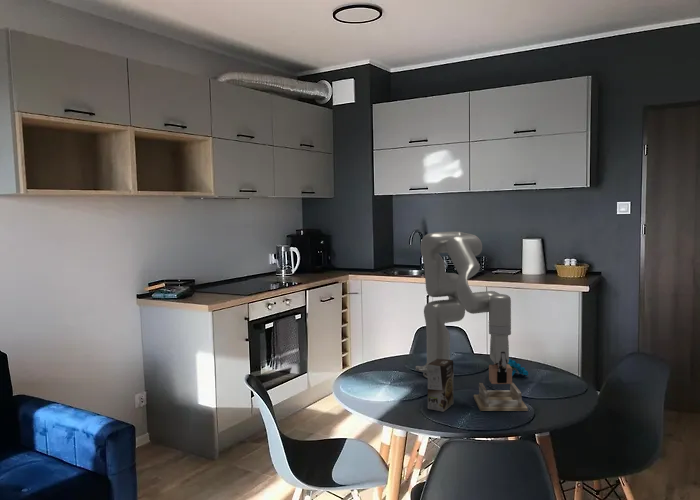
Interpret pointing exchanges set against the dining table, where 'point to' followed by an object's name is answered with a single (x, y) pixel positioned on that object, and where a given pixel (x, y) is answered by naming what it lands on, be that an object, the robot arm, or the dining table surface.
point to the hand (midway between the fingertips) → (500, 379)
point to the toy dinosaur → (517, 368)
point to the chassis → (500, 399)
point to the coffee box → (440, 384)
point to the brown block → (493, 374)
